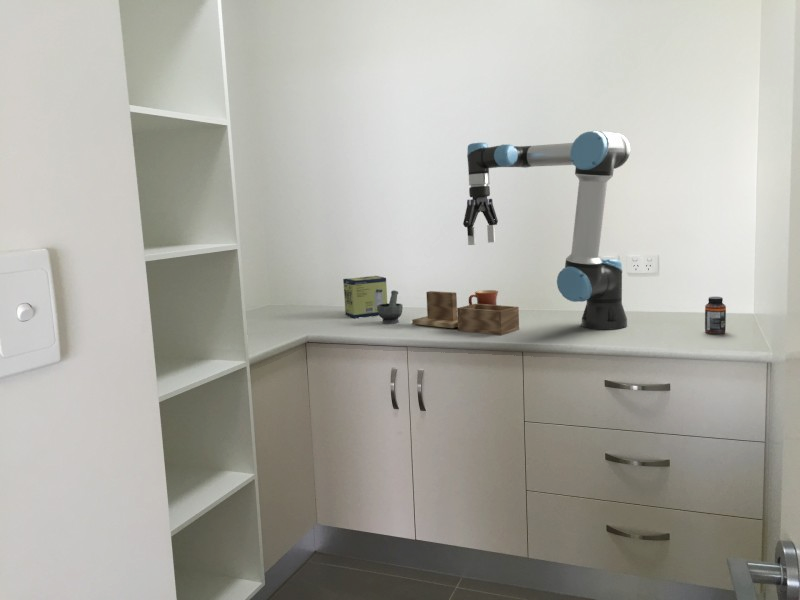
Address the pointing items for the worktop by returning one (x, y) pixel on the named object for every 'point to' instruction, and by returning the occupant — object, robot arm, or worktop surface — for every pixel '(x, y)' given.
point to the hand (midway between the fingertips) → (482, 243)
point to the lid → (440, 310)
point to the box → (488, 319)
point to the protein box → (364, 295)
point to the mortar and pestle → (390, 310)
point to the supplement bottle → (715, 316)
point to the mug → (485, 297)
